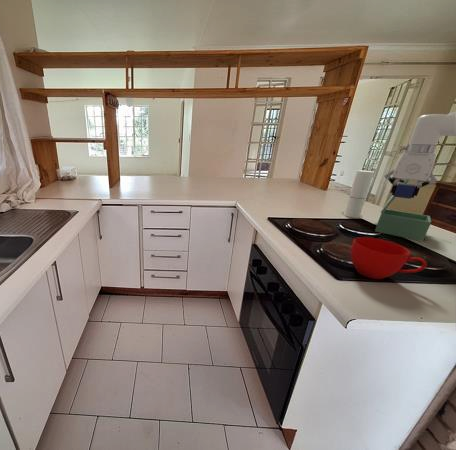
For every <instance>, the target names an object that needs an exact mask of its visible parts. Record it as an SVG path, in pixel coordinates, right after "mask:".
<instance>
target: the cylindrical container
mask: <svg viewBox="0 0 456 450" xmlns="http://www.w3.org/2000/svg"><path fill="white" fill-rule="evenodd" d="M355 172H356V173H355V176H354V178H353V183H352V185H351V189H350V192H349V195H348V199H347V201H346V206H345V208H344V212H343V216H345V217H347V218H356V219H359V218H360V216H361V214H362V210H363V207H364V205H365V202H366V199H367V195H368V193H369V189H370V186H371V184H372V179H373V177H374V174H375V171H373V170H363V169H360V170H359V169H357V170H356V171H355Z"/></svg>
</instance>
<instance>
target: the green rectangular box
mask: <svg viewBox="0 0 456 450" xmlns="http://www.w3.org/2000/svg"><path fill="white" fill-rule="evenodd" d="M380 213H381V212H380ZM431 224H432V219H431V216H430V215H426V214H421V213H414V212H408V211H402V210H396V209H395V210H394V209H388V208H386V210H385V211H384V212H383V213H381V214H380V216H379V218H378V221H377V224H376V227H375V229H374V232H375V233H381V234H384V235H389V236H390V235H391V236H394V237H395V236H396V237H400V238H404V239H408V240H414V241H418V242H424V240H425V237H426V235H427V233H428V230H429V228H430V226H431Z"/></svg>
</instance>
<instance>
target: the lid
mask: <svg viewBox="0 0 456 450" xmlns="http://www.w3.org/2000/svg"><path fill="white" fill-rule="evenodd" d="M391 178H393V180H394V181H395V180H396V178H394V177H393V176H391ZM409 181H410V180H405V179H400V181H399V182H398V183H403V184H409ZM395 198H396V197H394V195H392V194H391V195H390V198H389V199H388V200H387V201H386V203H384V205H383V206H382V208H381V210H380V213H383V212H384V211H385V210H386V209H388V207H389V206H390V205H391V204H392V202H393V201H394V200H395Z"/></svg>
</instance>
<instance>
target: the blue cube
mask: <svg viewBox="0 0 456 450" xmlns="http://www.w3.org/2000/svg"><path fill="white" fill-rule="evenodd" d="M416 186H417V184H412V183H407V184H403V183H401V182H398V183H397V188H396V191H395V194H394V197H395V198H400V199H408V200H409V199H410V200H411V199H412V194H413V192H414V189H415V187H416Z"/></svg>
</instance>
